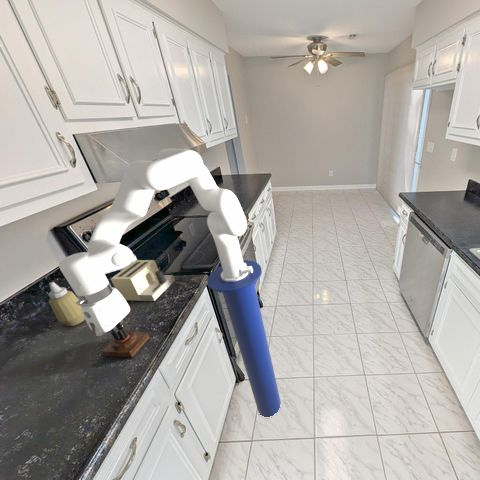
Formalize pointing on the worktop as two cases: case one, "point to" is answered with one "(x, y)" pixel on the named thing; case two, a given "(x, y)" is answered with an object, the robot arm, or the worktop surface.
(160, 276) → the toaster slider
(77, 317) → the squeeze bottle
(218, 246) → the robot arm
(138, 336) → the base
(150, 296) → the toaster
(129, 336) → the timer button
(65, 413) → the worktop surface
